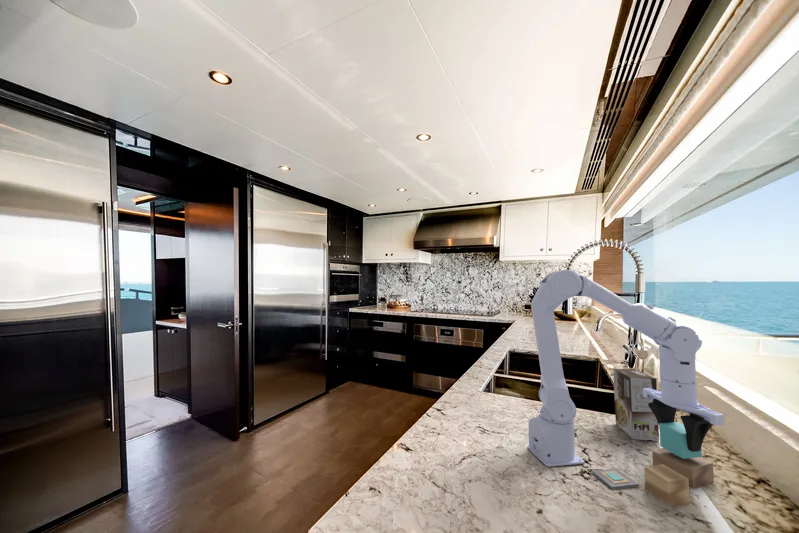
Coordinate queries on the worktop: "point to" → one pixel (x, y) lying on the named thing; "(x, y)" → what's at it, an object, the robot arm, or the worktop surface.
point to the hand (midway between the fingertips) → (680, 443)
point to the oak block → (667, 485)
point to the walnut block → (686, 467)
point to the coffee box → (635, 404)
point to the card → (615, 479)
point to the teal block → (676, 440)
